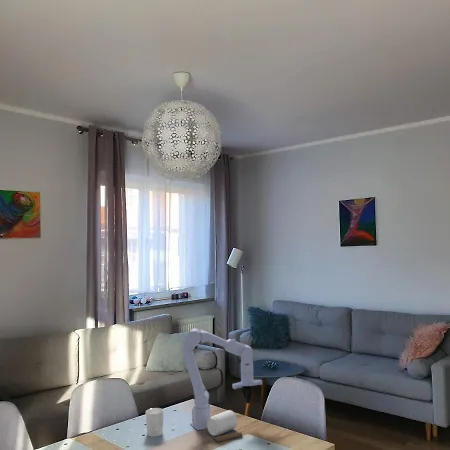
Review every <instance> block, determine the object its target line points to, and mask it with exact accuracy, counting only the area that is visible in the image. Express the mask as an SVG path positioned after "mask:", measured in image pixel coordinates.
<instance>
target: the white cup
mask: <svg viewBox="0 0 450 450" xmlns="http://www.w3.org/2000/svg"><path fill="white" fill-rule="evenodd" d="M164 411H165V410H164V409H163V408H160V407H154V408H149V409H147V410H145V422H146V423H145V424H146V435H147V436H148V437H150V436H151V437H150V438H157V437H160V436H162V434H163V432H164V431H163V430H164V429H163V428H164Z"/></svg>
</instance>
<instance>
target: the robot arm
mask: <svg viewBox="0 0 450 450" xmlns="http://www.w3.org/2000/svg"><path fill="white" fill-rule="evenodd" d="M200 342H201V344H202V343H203V344H204V343H206V342H208V343H209V342H210V343H213V344H215V345H217V346H221V347H223V348H224V350H225V351H226V352H228V353H229V354H230V353H231V354H233V355H235V356H237V357H238V356H239V357H240V358H241V359H240V360H241V361H240V381H238V382H236V383H232V384H231V385H232V389H234V390H237V389H241V392H242V394H243V396H244V401H245V403H246V404H250V403H251V401H252V396H253V394H254V392H255V386H258V385H259V386H262V385H263V380H262V379H254V362H253V361H254V359H253V357H254V351H253V348H252V347H251V345H249V344H245V343H244V342H243V343H242V342H239V341H237V340H236V339H235V338H231V339H230V338H229V339H224V338H222V337H220V336H217V335H215V334H213V333H211V332H209V331H206V330H205V329H200V328H197V327H193V328H191V329H190V330H189V332H188V333H187V335H186V337H185V338H184V342H183V345H182V349H181V353H182V356H183V358H184V359H183V360H184V362H185V367H186V369H187V372H188V376H189V378H190V382H191V384H192V388H193V395H194V405H193V406H192V408H191V422H190V425H191V426H192V427H193V428H194V429H196V430H197V431H202V430H205V428H206V427H207V421H208V420H209V418H210V417H211V404H210V403H209V399H210V393H209V391H208V390H207V389H206V387H205V385H204V383H203V380H202V376H201V374H200V370H199V366H198V363H197V360H196V358H195V353H194V350H195V348H196V346H197V345H198V344H199V343H200Z"/></svg>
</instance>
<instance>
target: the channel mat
mask: <svg viewBox="0 0 450 450" xmlns="http://www.w3.org/2000/svg"><path fill="white" fill-rule="evenodd" d="M204 430H205V433H207V434H208V435H209V436H210V437H211V438H213V440H215V441H216V442H217V443H220V442H224V441H230V440H233V439H239V438H242V437H243V432H242V431H237V430H236V429H232V430H230V431H228V432H225V433H223V434H221V435H218V436H213V435H211V434H210V433H209V431H208V428H207V427H206V428H205V429H204Z"/></svg>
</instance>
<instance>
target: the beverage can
mask: <svg viewBox="0 0 450 450" xmlns="http://www.w3.org/2000/svg"><path fill="white" fill-rule="evenodd" d="M237 425H238V418H237V415H236V413H235V412H234V411H233V410H231V409H229V410H224V411H222V412H220V413H218V414H215V415H212V416H210V418H209V420H208V421H207V428H208V431H209V433H210V434H211V435H213V436H218V435H221V434H223V433H225V432H228V431H230V430H232V429H234V430H236V428H237Z"/></svg>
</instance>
